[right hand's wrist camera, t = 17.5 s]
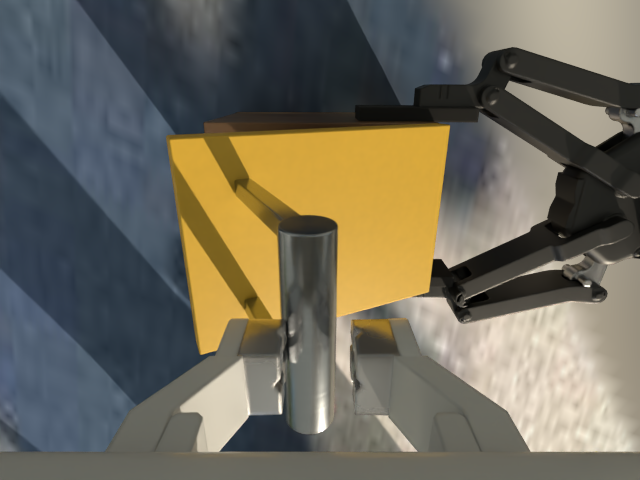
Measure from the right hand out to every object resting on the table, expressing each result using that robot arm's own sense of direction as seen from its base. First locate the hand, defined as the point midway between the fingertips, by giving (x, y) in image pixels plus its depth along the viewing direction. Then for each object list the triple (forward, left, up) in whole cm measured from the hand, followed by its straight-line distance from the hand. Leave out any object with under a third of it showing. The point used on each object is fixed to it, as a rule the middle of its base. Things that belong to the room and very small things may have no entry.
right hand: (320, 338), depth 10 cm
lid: (0, 0, -9) cm, 9 cm away
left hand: (+1, +2, -14) cm, 14 cm away
